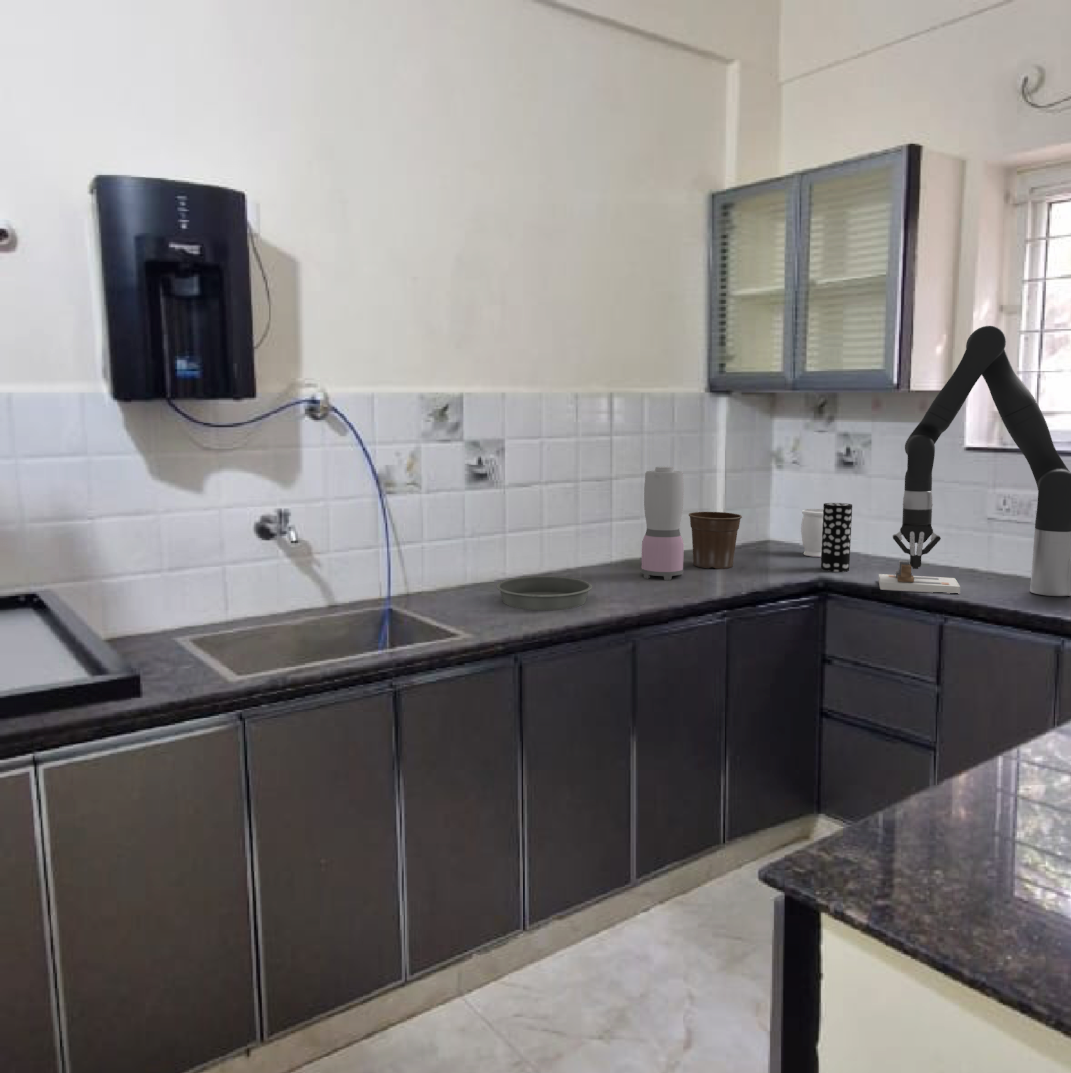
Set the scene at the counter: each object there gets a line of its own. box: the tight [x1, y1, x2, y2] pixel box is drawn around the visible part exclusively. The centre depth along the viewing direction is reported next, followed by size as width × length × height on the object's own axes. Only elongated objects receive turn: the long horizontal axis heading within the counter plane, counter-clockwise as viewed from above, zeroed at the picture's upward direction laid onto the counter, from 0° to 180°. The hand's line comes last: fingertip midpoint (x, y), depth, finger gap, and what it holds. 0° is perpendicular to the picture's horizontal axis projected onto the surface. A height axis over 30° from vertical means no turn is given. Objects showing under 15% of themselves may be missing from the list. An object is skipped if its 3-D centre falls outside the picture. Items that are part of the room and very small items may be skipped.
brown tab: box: [897, 564, 914, 582], centre depth 260 cm, size 4×4×4 cm
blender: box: [640, 465, 685, 581], centre depth 278 cm, size 16×12×32 cm
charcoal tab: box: [894, 559, 913, 577], centre depth 267 cm, size 4×4×4 cm
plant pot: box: [688, 511, 743, 570], centre depth 295 cm, size 16×16×16 cm
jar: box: [800, 508, 823, 558], centre depth 316 cm, size 11×10×15 cm
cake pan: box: [496, 575, 593, 611], centre depth 244 cm, size 25×25×4 cm
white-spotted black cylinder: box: [820, 502, 853, 573], centre depth 289 cm, size 8×8×20 cm
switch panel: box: [878, 573, 961, 595], centre depth 263 cm, size 20×13×2 cm, turn 72°
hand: (915, 568), depth 266 cm, fingers closed
